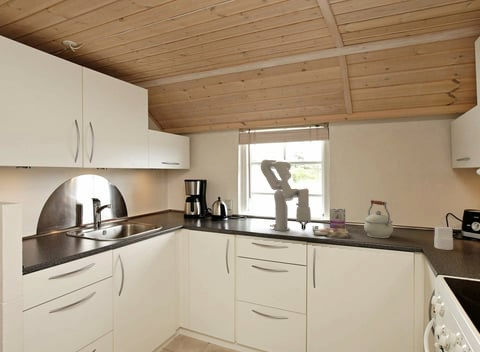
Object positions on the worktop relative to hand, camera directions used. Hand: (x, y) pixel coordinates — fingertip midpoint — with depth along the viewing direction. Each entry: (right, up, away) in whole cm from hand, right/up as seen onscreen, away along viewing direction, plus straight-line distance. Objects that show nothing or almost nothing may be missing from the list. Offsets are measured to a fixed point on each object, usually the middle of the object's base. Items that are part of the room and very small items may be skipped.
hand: (303, 230), depth 205 cm
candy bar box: (+32, -3, +19) cm, 37 cm away
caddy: (+23, -3, -5) cm, 23 cm away
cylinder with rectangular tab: (+74, -3, -39) cm, 84 cm away
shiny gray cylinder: (+12, -3, +11) cm, 16 cm away
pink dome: (+15, -1, -3) cm, 15 cm away
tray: (+14, -2, -3) cm, 14 cm away
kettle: (+51, -3, -6) cm, 51 cm away
